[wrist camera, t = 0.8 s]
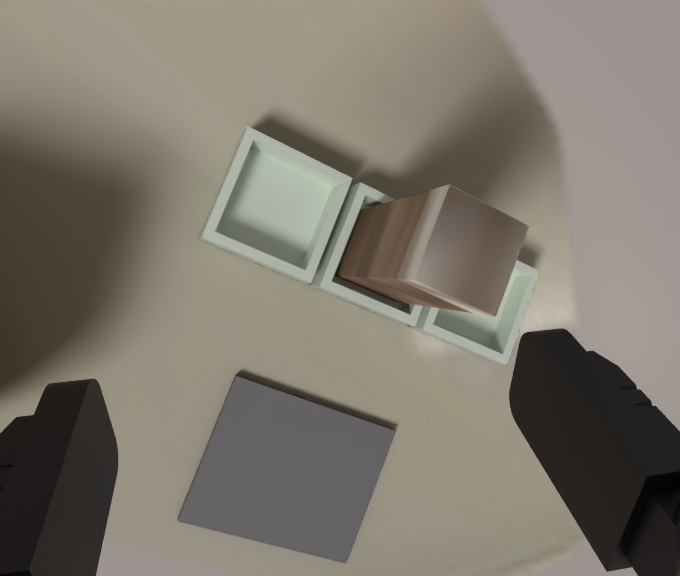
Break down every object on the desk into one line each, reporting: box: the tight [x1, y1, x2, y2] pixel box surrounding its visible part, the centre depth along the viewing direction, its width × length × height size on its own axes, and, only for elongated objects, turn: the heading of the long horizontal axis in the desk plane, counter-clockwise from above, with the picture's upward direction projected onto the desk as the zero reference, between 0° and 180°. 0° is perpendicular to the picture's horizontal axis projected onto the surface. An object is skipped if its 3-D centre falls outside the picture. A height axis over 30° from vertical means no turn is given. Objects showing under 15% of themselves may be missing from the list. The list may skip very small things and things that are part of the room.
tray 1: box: [199, 126, 353, 283], centre depth 29 cm, size 6×6×2 cm
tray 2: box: [310, 182, 423, 326], centre depth 31 cm, size 6×6×2 cm
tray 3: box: [407, 260, 540, 365], centre depth 33 cm, size 6×6×2 cm
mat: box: [178, 375, 395, 563], centre depth 31 cm, size 10×8×1 cm
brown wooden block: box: [335, 184, 529, 317], centre depth 27 cm, size 4×4×10 cm
